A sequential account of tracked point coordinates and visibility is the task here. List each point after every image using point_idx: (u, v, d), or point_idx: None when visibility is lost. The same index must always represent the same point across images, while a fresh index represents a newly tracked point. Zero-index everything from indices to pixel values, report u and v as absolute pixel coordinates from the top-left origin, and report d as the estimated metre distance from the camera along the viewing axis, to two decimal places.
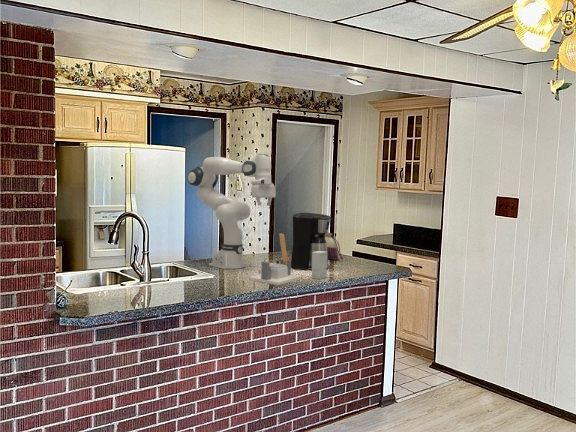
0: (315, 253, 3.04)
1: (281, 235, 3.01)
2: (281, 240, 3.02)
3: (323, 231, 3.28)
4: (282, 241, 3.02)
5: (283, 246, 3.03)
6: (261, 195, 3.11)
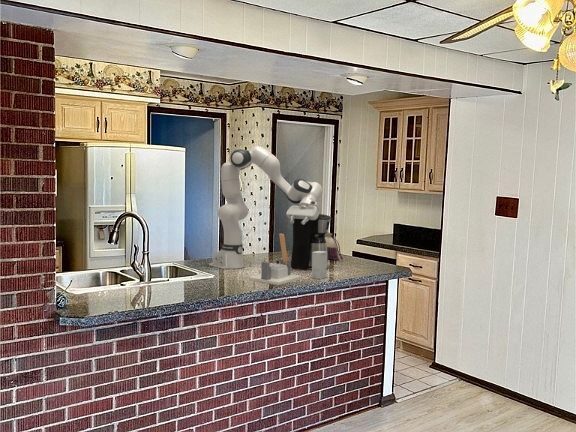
0: (315, 253, 3.04)
1: (281, 235, 3.01)
2: (281, 240, 3.02)
3: (323, 231, 3.28)
4: (282, 241, 3.02)
5: (283, 246, 3.03)
6: None
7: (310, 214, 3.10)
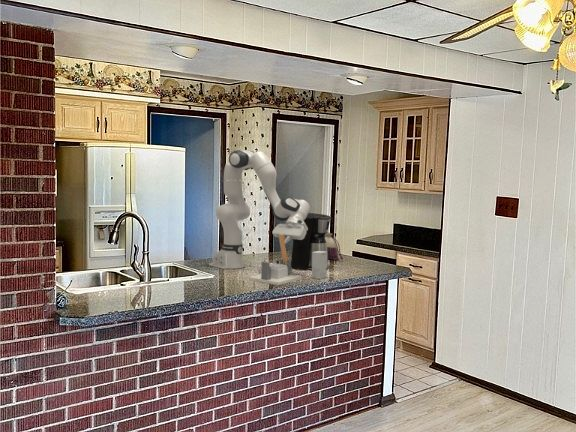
0: (315, 253, 3.04)
1: (280, 235, 3.00)
2: (281, 241, 3.02)
3: (323, 231, 3.28)
4: (281, 241, 3.02)
5: (283, 246, 3.02)
6: None
7: (297, 234, 3.00)
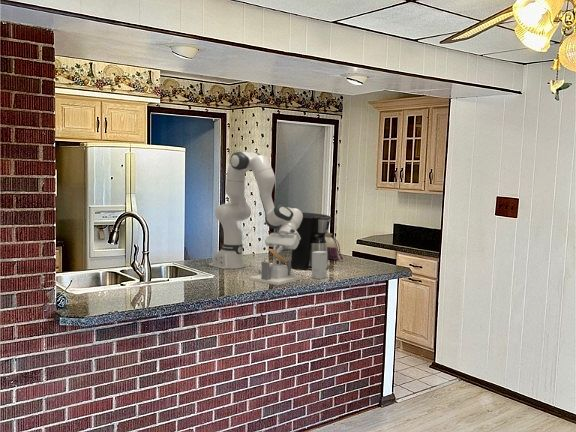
0: (315, 253, 3.04)
1: (270, 250, 2.94)
2: (273, 252, 2.96)
3: (323, 231, 3.28)
4: (274, 253, 2.97)
5: (277, 255, 2.98)
6: None
7: (289, 243, 2.95)
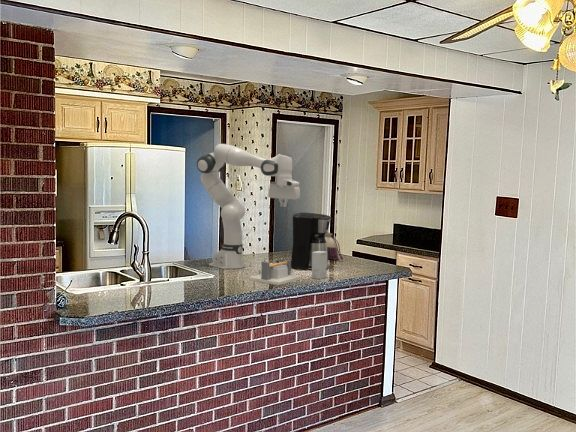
0: (315, 253, 3.04)
1: None
2: None
3: (323, 231, 3.28)
4: None
5: None
6: None
7: (292, 197, 3.05)
